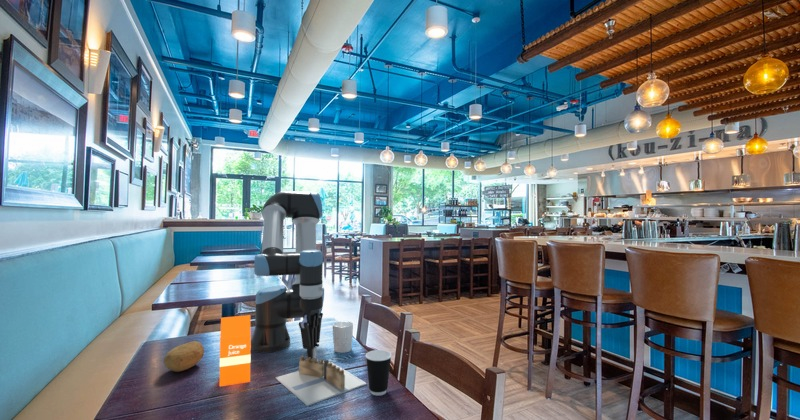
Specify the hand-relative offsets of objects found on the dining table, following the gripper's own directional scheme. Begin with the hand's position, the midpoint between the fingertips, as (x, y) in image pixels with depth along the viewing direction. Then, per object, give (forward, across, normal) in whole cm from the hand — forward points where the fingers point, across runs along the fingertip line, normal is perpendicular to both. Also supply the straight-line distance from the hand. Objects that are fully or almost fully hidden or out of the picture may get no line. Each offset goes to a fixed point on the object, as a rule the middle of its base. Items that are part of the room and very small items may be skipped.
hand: (311, 367), depth 122 cm
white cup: (+2, +22, -2) cm, 22 cm away
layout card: (+2, -5, -6) cm, 8 cm away
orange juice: (+2, -11, +21) cm, 24 cm away
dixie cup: (+2, -7, -26) cm, 27 cm away
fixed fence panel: (+2, -7, -11) cm, 13 cm away
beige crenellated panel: (+1, -3, -1) cm, 3 cm away
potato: (+2, -8, +43) cm, 44 cm away
